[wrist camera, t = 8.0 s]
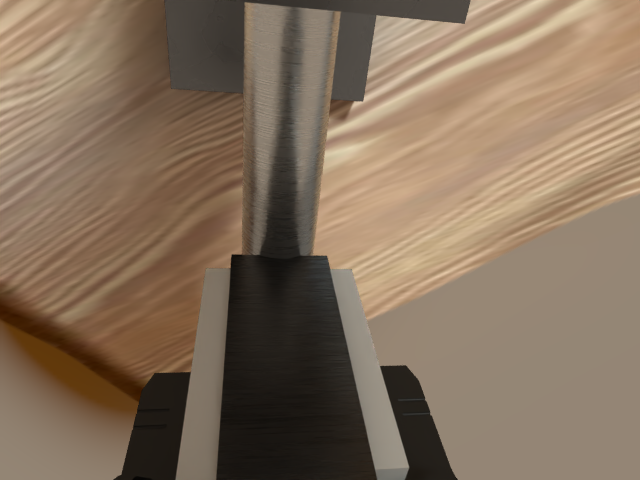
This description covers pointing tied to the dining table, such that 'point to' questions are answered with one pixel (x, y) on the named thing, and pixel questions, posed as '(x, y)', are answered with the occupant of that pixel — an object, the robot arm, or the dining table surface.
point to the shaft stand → (228, 6)
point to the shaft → (287, 271)
